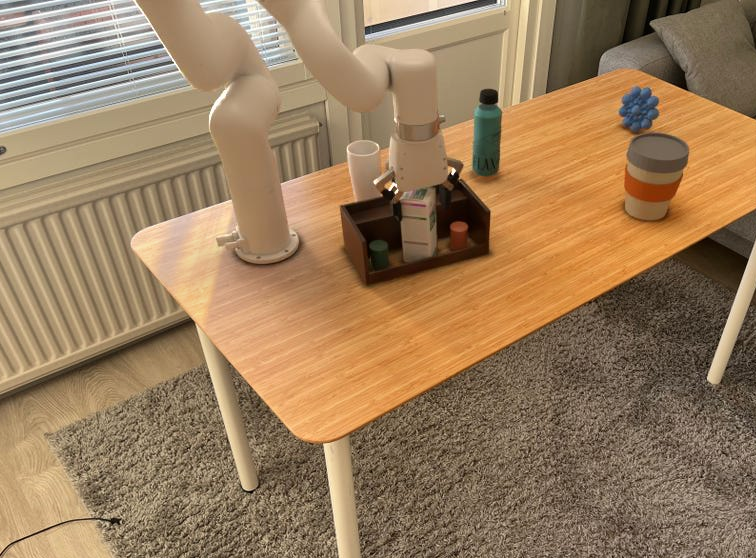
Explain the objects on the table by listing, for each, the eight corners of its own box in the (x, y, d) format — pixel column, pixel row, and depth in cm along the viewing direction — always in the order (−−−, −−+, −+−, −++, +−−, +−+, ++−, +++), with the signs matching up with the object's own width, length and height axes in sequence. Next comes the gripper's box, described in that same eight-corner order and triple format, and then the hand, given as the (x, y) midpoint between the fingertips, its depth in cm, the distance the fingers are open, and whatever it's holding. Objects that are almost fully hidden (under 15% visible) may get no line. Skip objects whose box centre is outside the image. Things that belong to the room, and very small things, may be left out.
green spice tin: (374, 273, 137) (372, 252, 134) (368, 263, 140) (366, 242, 136) (392, 269, 138) (390, 248, 135) (385, 259, 141) (384, 238, 137)
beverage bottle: (467, 179, 163) (468, 94, 150) (477, 166, 168) (480, 82, 154) (493, 185, 162) (497, 100, 148) (503, 171, 166) (508, 88, 152)
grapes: (663, 135, 181) (673, 88, 173) (646, 143, 178) (656, 96, 169) (627, 119, 187) (635, 74, 179) (611, 126, 184) (618, 81, 176)
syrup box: (431, 266, 139) (429, 202, 129) (402, 262, 140) (398, 198, 130) (437, 250, 143) (437, 186, 133) (409, 246, 144) (406, 182, 134)
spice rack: (366, 285, 134) (361, 241, 128) (344, 248, 143) (339, 205, 136) (488, 253, 143) (490, 210, 136) (461, 220, 151) (461, 178, 144)
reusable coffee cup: (685, 209, 156) (702, 145, 145) (654, 232, 149) (670, 167, 139) (637, 188, 162) (650, 126, 151) (605, 209, 155) (616, 145, 145)
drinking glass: (390, 208, 154) (386, 144, 144) (374, 223, 150) (369, 158, 139) (363, 200, 156) (357, 137, 146) (347, 215, 152) (339, 151, 141)
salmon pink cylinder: (454, 253, 142) (454, 233, 139) (447, 243, 145) (447, 223, 141) (470, 249, 144) (471, 229, 140) (463, 239, 146) (463, 219, 143)
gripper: (453, 108, 128) (454, 192, 139) (362, 127, 122) (371, 212, 134) (471, 125, 123) (471, 211, 135) (376, 146, 117) (385, 233, 129)
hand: (421, 211), depth 134 cm, fingers open, 9 cm apart
